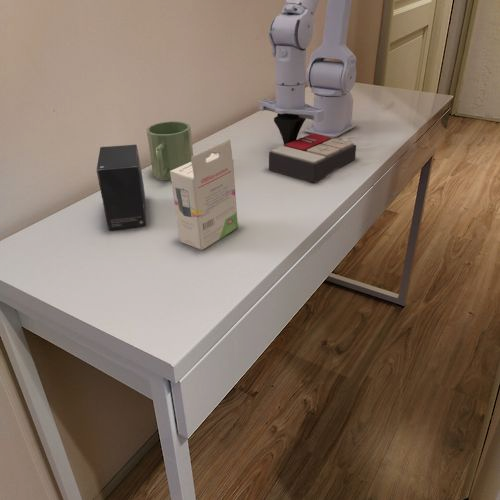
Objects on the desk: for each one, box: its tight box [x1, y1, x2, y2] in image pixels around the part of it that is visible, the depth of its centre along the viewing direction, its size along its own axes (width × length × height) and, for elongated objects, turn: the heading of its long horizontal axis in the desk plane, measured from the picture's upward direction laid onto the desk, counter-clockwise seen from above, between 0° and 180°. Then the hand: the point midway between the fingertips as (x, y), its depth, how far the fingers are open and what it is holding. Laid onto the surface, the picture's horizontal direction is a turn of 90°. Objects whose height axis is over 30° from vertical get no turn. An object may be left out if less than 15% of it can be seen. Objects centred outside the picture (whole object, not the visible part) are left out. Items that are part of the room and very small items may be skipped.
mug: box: [146, 120, 194, 181], centre depth 96 cm, size 11×8×9 cm
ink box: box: [170, 138, 239, 251], centre depth 74 cm, size 9×5×15 cm, turn 141°
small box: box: [96, 144, 147, 231], centre depth 82 cm, size 11×6×10 cm, turn 12°
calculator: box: [268, 133, 357, 183], centre depth 99 cm, size 11×4×15 cm
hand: (289, 149), depth 104 cm, fingers closed
